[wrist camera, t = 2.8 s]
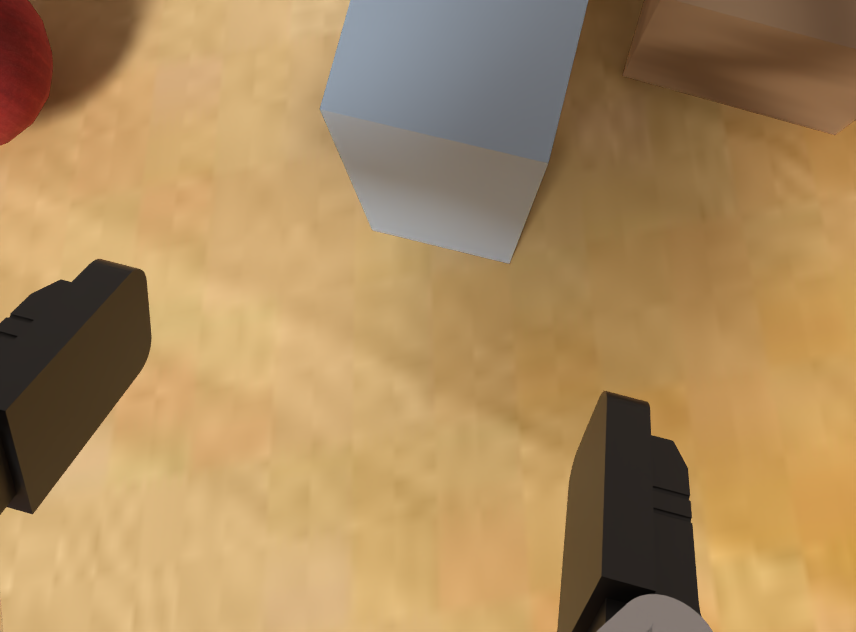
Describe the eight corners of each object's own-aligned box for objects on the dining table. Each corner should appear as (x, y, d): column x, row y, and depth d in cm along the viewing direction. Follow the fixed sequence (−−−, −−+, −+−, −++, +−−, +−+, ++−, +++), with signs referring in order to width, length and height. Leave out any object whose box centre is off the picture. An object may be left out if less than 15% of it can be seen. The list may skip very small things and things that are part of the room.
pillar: (372, 230, 25) (319, 109, 15) (407, 99, 25) (379, -102, 15) (509, 263, 25) (548, 162, 15) (542, 130, 25) (601, -54, 15)
